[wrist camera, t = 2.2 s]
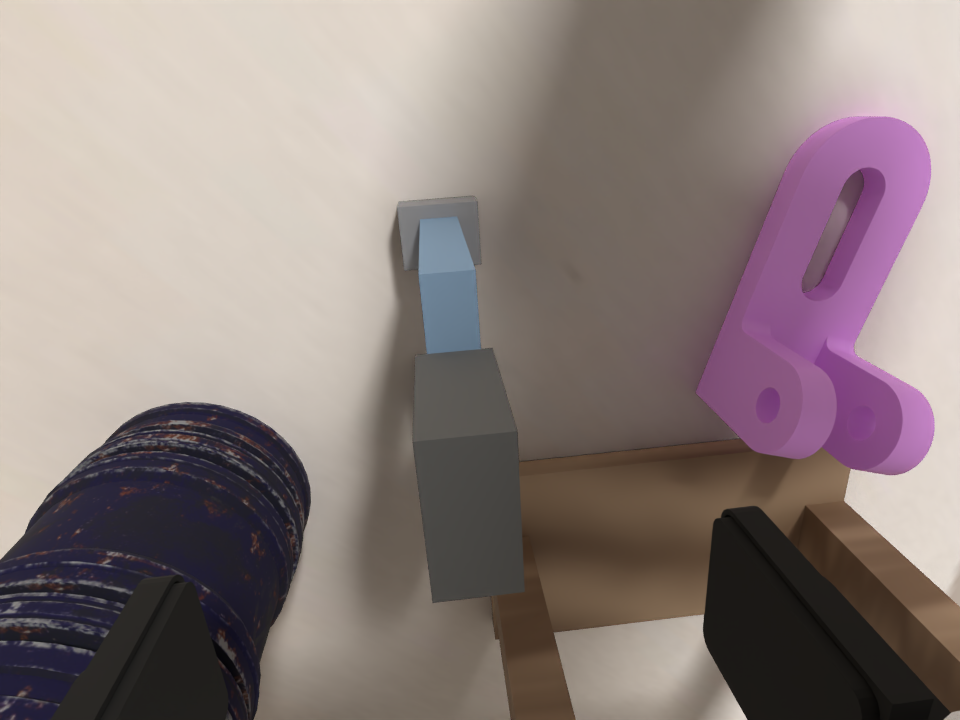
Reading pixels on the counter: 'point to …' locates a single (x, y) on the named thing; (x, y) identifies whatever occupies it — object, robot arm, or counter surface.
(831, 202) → the bracket
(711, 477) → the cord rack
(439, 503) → the blue bars grey blocks
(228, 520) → the storage jar
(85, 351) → the counter surface
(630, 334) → the counter surface
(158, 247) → the counter surface
